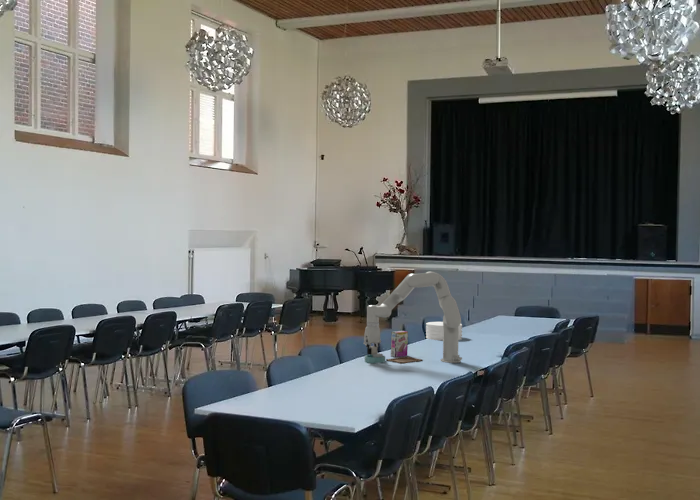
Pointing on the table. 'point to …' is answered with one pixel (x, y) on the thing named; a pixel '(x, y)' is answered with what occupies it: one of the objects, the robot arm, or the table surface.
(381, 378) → the table surface
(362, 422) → the table surface
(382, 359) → the bowl
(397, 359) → the tray
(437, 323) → the plate stack
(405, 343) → the candy bar box
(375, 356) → the light grey cube
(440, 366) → the table surface
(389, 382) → the table surface
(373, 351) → the beige square block
